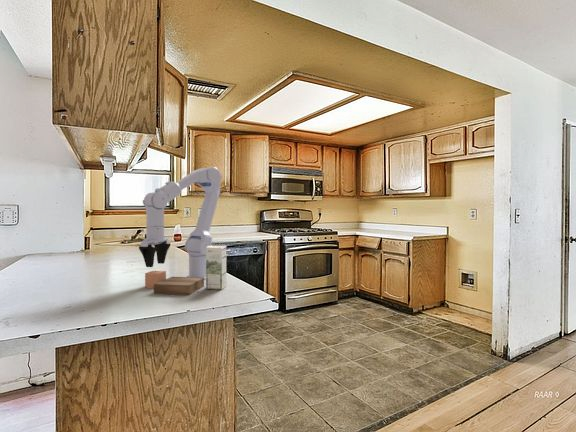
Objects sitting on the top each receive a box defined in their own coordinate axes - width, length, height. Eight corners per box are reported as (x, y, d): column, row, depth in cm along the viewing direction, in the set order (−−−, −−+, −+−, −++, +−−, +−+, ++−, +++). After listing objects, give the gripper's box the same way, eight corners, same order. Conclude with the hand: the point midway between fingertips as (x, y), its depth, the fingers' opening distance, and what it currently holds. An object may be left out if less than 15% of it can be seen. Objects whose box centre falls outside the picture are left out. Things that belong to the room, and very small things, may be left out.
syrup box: (227, 286, 117) (226, 244, 117) (222, 290, 112) (221, 246, 111) (211, 285, 118) (211, 244, 118) (205, 289, 112) (205, 246, 112)
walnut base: (171, 285, 119) (171, 276, 119) (204, 286, 117) (204, 277, 117) (153, 293, 107) (153, 284, 107) (189, 294, 105) (189, 285, 105)
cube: (153, 284, 120) (152, 270, 120) (166, 284, 120) (165, 271, 119) (145, 287, 115) (145, 273, 115) (158, 288, 115) (158, 273, 114)
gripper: (155, 225, 125) (155, 261, 125) (132, 227, 110) (132, 268, 111) (173, 225, 124) (173, 262, 124) (152, 227, 109) (152, 269, 110)
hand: (155, 265), depth 117 cm, fingers open, 7 cm apart
